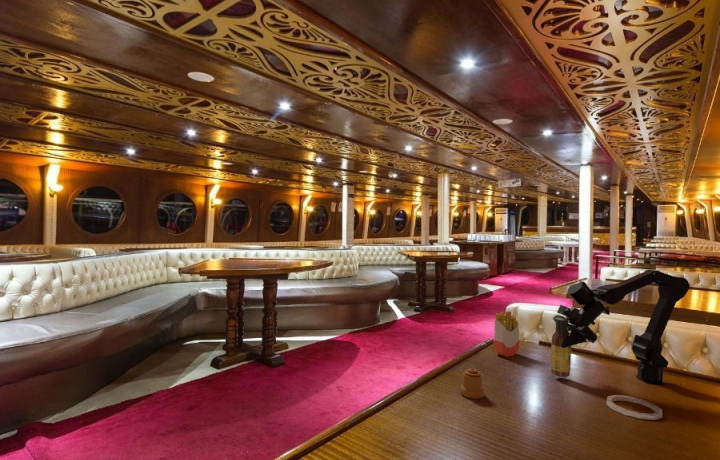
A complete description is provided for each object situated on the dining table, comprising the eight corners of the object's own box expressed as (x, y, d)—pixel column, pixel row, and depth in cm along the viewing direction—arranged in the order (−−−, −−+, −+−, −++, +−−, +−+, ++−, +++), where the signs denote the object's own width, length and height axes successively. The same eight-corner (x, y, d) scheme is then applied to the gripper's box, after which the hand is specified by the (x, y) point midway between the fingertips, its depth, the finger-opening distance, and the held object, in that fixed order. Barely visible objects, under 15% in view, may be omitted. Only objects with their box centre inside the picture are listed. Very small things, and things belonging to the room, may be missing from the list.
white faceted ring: (643, 400, 121) (643, 397, 121) (673, 421, 108) (673, 417, 108) (598, 397, 122) (598, 393, 122) (622, 417, 109) (622, 413, 109)
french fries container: (519, 354, 164) (520, 312, 165) (502, 358, 159) (504, 314, 159) (510, 351, 168) (511, 310, 168) (493, 354, 163) (494, 312, 163)
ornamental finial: (466, 387, 127) (488, 395, 122) (455, 394, 121) (477, 402, 116) (467, 363, 127) (489, 369, 122) (456, 369, 121) (478, 375, 116)
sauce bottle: (572, 378, 134) (575, 322, 133) (553, 376, 135) (555, 320, 134) (566, 371, 140) (568, 317, 140) (548, 369, 141) (550, 316, 141)
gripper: (558, 293, 147) (529, 322, 146) (589, 302, 128) (556, 335, 128) (577, 314, 147) (549, 343, 147) (611, 326, 129) (578, 359, 128)
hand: (557, 344), depth 137 cm, fingers closed on sauce bottle, 6 cm apart
